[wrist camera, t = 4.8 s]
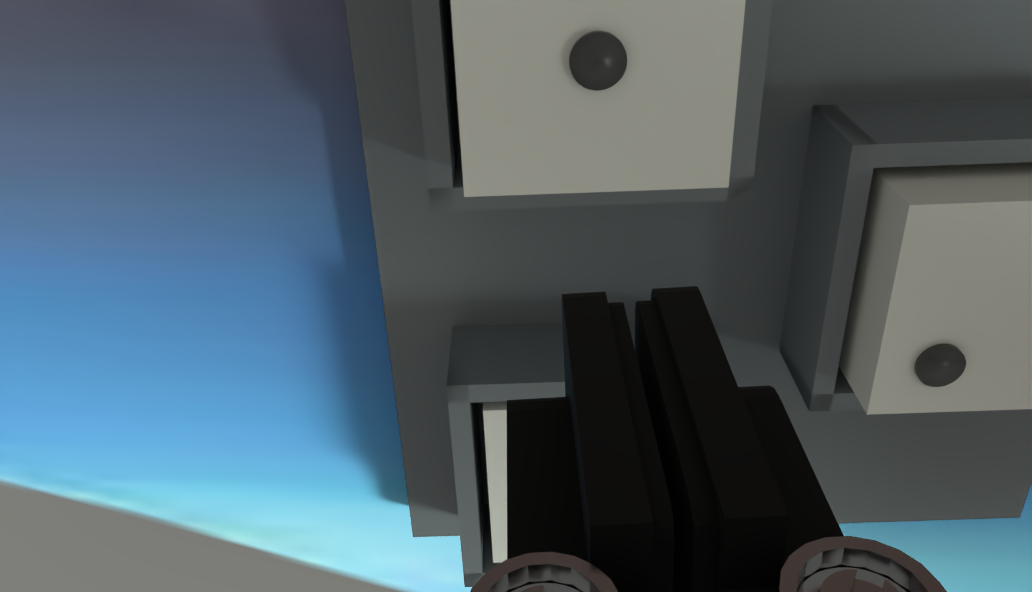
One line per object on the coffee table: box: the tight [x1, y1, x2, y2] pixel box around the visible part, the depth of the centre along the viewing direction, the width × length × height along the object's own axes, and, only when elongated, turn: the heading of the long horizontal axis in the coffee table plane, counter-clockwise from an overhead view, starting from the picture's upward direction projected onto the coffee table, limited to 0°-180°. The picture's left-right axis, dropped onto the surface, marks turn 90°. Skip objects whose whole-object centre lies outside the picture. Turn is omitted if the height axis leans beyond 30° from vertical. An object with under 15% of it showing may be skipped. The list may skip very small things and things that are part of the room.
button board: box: [344, 0, 1032, 587], centre depth 21 cm, size 18×19×4 cm
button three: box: [483, 401, 507, 563], centre depth 23 cm, size 5×5×2 cm
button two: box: [839, 162, 1032, 415], centre depth 19 cm, size 5×5×2 cm
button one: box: [450, 0, 746, 197], centre depth 16 cm, size 5×5×2 cm
